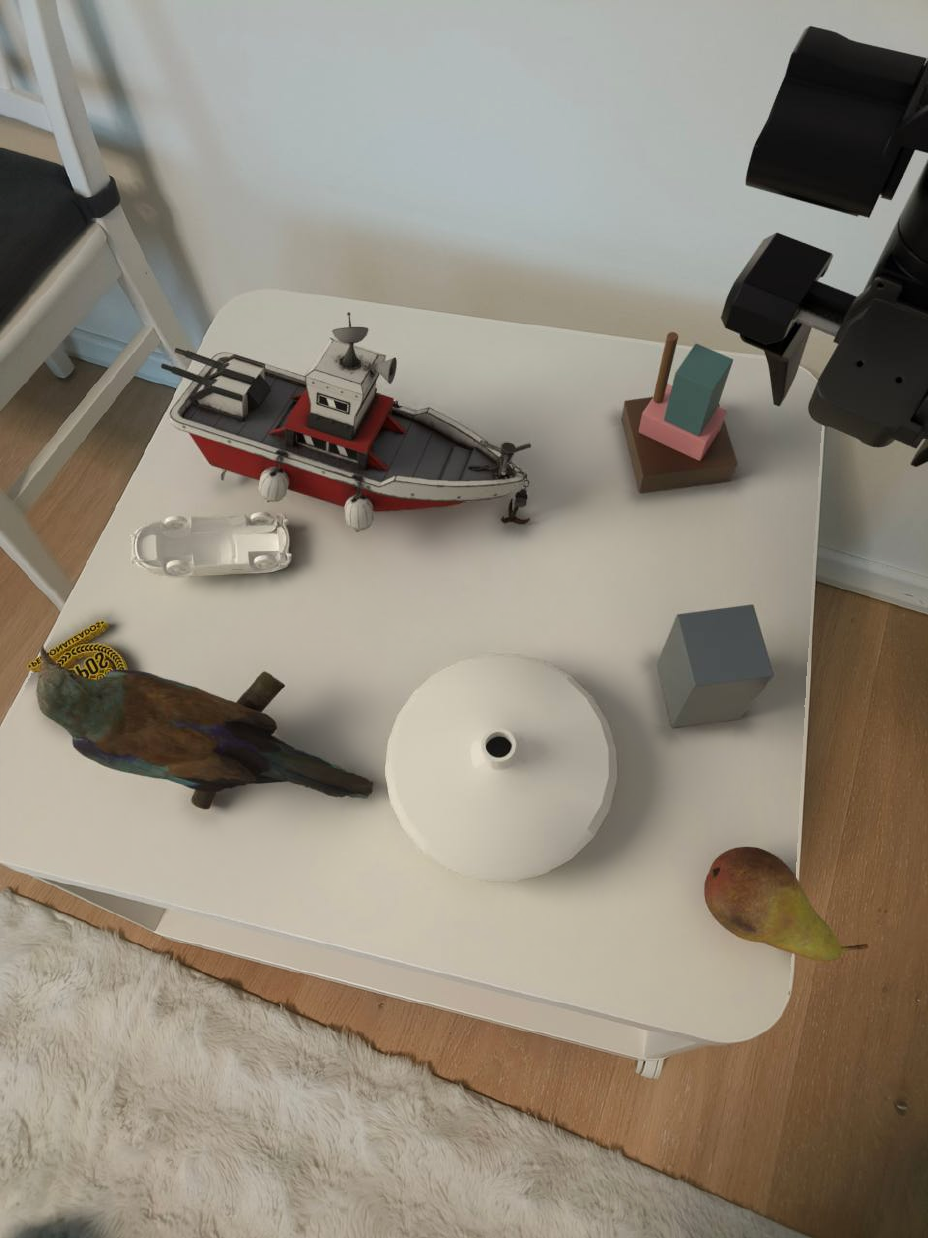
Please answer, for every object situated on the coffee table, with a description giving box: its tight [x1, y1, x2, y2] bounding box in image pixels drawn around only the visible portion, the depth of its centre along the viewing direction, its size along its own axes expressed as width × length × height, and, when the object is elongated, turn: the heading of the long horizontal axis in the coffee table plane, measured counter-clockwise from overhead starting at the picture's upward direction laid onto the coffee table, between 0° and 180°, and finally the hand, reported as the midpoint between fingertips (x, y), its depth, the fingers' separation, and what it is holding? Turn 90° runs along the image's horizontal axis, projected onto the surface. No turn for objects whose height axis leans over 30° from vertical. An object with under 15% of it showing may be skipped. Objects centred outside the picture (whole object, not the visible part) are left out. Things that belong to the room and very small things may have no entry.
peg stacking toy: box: [639, 331, 734, 461], centre depth 64 cm, size 6×4×10 cm, turn 57°
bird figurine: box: [36, 645, 374, 811], centre depth 57 cm, size 13×10×20 cm
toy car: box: [129, 511, 292, 578], centre depth 67 cm, size 5×12×4 cm, turn 99°
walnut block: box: [621, 396, 738, 494], centre depth 69 cm, size 8×8×2 cm
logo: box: [26, 619, 129, 680], centre depth 65 cm, size 7×1×8 cm
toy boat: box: [160, 312, 532, 532], centre depth 65 cm, size 13×30×17 cm, turn 73°
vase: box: [384, 653, 618, 882], centre depth 57 cm, size 16×16×7 cm
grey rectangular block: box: [656, 603, 775, 729], centre depth 58 cm, size 5×5×9 cm
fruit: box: [703, 846, 870, 963], centre depth 53 cm, size 6×6×12 cm
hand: (845, 430), depth 55 cm, fingers open, 9 cm apart
